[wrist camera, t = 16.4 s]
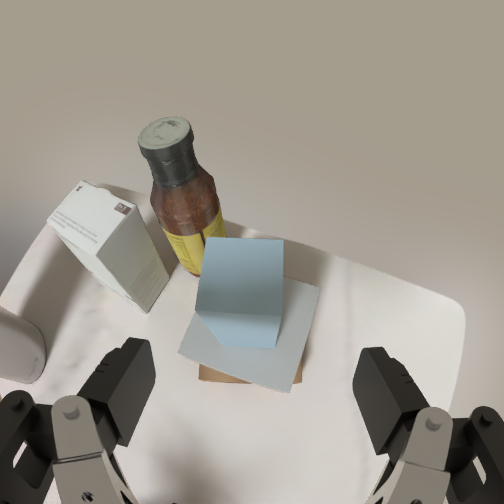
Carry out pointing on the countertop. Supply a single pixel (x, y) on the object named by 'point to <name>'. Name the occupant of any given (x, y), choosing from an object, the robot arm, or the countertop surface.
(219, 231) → the sauce bottle
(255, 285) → the blue block
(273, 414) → the countertop surface
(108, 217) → the skincare box
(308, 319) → the block top
